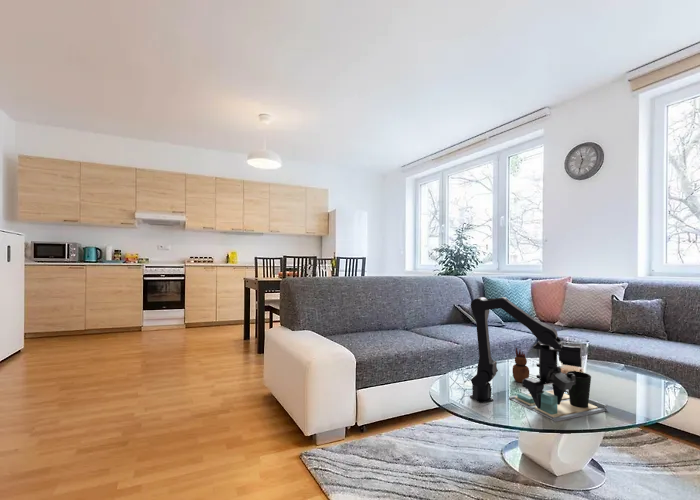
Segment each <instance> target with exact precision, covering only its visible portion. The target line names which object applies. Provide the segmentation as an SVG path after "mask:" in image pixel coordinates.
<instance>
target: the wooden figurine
mask: <svg viewBox="0 0 700 500" xmlns="http://www.w3.org/2000/svg"><path fill="white" fill-rule="evenodd" d="M527 362H528V360H527V358H526V355H525V353H523V351H521V349H520V348H519V349H517V347H515V357H514V363H515V364H513V365H512V377H513V380H514V381H515V382H517V383H520V384H522V380H524V379H526V378H530V368H529V367H528V366H527V364H528V363H527Z"/></svg>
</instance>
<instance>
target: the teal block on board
mask: <svg viewBox="0 0 700 500" xmlns="http://www.w3.org/2000/svg"><path fill="white" fill-rule="evenodd" d="M542 391H544V393H542V394H541V406H540V408H537V406H536V407H535V409H537V410H539V411H541V412H543V413H545V414H547V415H549V416H551V417H553V418H555V417H559V416H564V415H569V414H574V413H579V412H584V411H589V410H593V409H598V407H596V406H594V405H591V404H589V403H588V407H587V408H580V407H575V406H573V405H571V404H570V400H568V401H563V402H560V405H558V404H557V396H555V395H553V394H551V393H548V392H546V390H544V389H543V390H542Z"/></svg>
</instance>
